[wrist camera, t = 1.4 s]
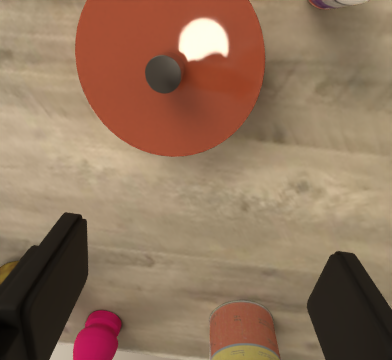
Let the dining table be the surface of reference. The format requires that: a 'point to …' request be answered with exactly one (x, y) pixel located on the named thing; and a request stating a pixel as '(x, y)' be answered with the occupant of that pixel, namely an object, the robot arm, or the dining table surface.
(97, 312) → the pepper mill
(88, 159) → the dining table surface
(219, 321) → the canned food
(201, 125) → the lid
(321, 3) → the pill bottle
